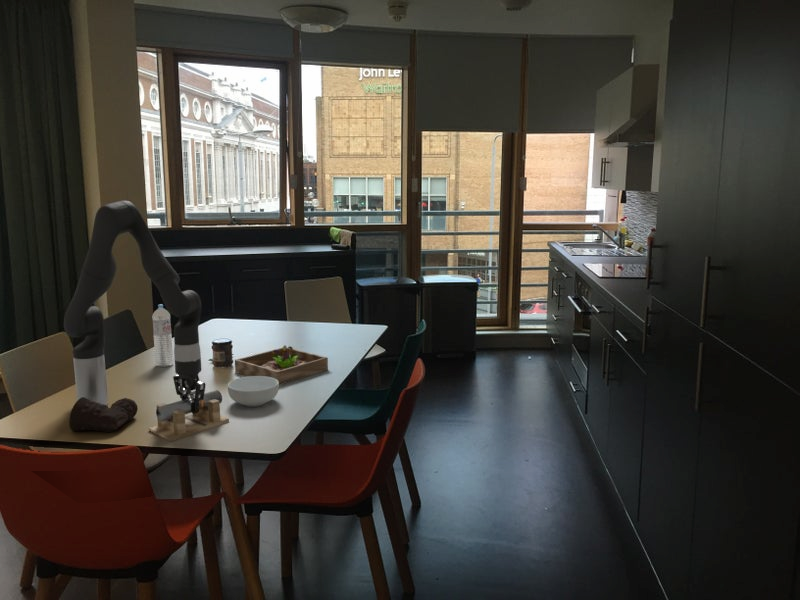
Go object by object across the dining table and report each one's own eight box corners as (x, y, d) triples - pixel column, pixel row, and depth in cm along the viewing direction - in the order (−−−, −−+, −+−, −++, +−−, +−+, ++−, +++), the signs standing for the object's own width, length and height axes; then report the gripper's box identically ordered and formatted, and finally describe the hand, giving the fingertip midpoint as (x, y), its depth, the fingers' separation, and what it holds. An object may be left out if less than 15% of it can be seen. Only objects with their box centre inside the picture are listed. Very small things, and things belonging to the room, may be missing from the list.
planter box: (235, 372, 251) (234, 359, 250) (285, 358, 271) (285, 346, 270) (277, 385, 235) (277, 372, 235) (327, 369, 255) (327, 357, 254)
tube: (164, 424, 187) (164, 409, 186) (156, 418, 190) (155, 404, 189) (222, 405, 203) (222, 392, 201) (213, 401, 205) (213, 388, 204)
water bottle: (159, 368, 256) (154, 307, 252) (153, 364, 261) (148, 304, 257) (176, 365, 260) (172, 304, 256) (169, 361, 266) (166, 302, 261)
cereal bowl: (255, 415, 206) (255, 394, 205) (217, 406, 214) (216, 385, 213) (289, 399, 220) (288, 379, 219) (252, 391, 228) (251, 372, 227)
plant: (254, 379, 244) (252, 350, 242) (266, 364, 263) (265, 338, 261) (306, 380, 243) (305, 351, 241) (315, 365, 262) (314, 338, 260)
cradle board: (148, 431, 192) (147, 407, 191) (206, 412, 208) (205, 390, 206) (170, 441, 185) (169, 416, 183) (229, 421, 200) (227, 398, 199)
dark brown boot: (140, 394, 203) (92, 386, 202) (121, 414, 188) (69, 406, 187) (137, 422, 205) (90, 415, 204) (118, 444, 190) (67, 436, 189)
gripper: (163, 355, 194) (166, 409, 198) (190, 364, 186) (193, 420, 189) (185, 350, 200) (188, 402, 203) (212, 358, 191) (215, 413, 195)
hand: (190, 410), depth 196 cm, fingers closed on tube, 4 cm apart
